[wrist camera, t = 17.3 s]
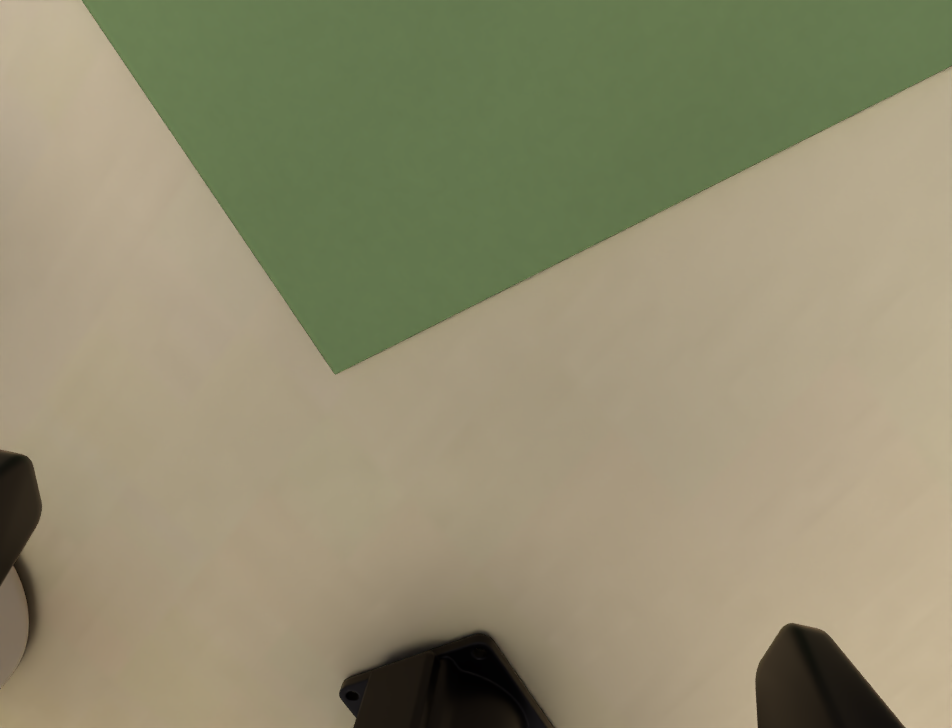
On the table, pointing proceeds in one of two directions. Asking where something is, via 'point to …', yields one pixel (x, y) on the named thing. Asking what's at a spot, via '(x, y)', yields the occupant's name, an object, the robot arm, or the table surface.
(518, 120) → the green cloth
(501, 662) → the robot arm
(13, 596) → the cylinder vase
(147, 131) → the table surface
